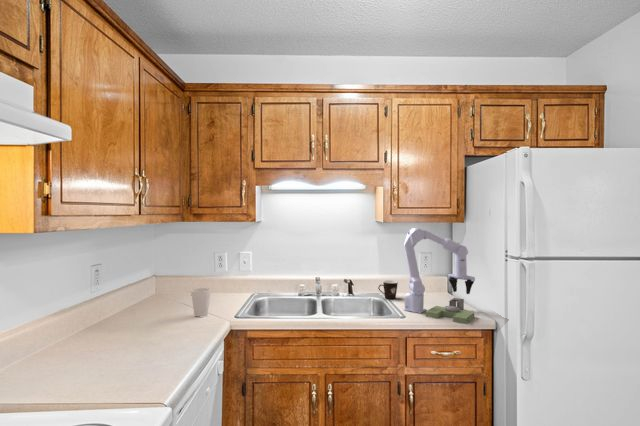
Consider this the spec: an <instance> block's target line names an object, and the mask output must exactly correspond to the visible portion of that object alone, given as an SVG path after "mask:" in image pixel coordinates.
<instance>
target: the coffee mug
mask: <svg viewBox="0 0 640 426" xmlns="http://www.w3.org/2000/svg"><path fill="white" fill-rule="evenodd" d="M398 284H399V283H398V281H396V280H390V279H389V280H384V281H383V284H379V285H378V291H380V293H382V294H384V299H385V300H390V301H391V300H397V299H396V298H397V293H398V292H397V290H398ZM381 286H382V287H383V291H382V290H381V289H380V288H381Z"/></svg>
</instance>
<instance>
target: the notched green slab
mask: <svg viewBox="0 0 640 426" xmlns="http://www.w3.org/2000/svg"><path fill="white" fill-rule="evenodd" d="M425 317H428V318H433V319H439V318H440V317H447V318H452V321H453V323H460V324H465V325H466V324H468V323H469V322H470V321H471V320H473V319H475V311H469V310H465V309H464V310H459V307H457V305H456V306H449V305H446V306H439V305H435V306H433V307H431V308H429V309H428V310H427V309H426V310H425Z"/></svg>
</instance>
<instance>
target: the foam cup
mask: <svg viewBox="0 0 640 426" xmlns="http://www.w3.org/2000/svg"><path fill="white" fill-rule="evenodd" d="M190 296H191V301H192V306H193V307H192V308H193V315H195V316H205V317H207V316H208V313H209V306H210V298H211V288H208V287H199V288H192V289H191V290H190ZM206 315H207V316H206ZM195 316H194V317H195Z"/></svg>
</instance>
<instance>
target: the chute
mask: <svg viewBox="0 0 640 426" xmlns="http://www.w3.org/2000/svg"><path fill="white" fill-rule="evenodd" d="M464 300H465V299H464V298H460V297H453V298H452V299H449V301H448V302H449V303H448V306H456V307H459V310H464V311H465V308H464V307H465V306H464V304H465V303H464V302H465V301H464Z"/></svg>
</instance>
